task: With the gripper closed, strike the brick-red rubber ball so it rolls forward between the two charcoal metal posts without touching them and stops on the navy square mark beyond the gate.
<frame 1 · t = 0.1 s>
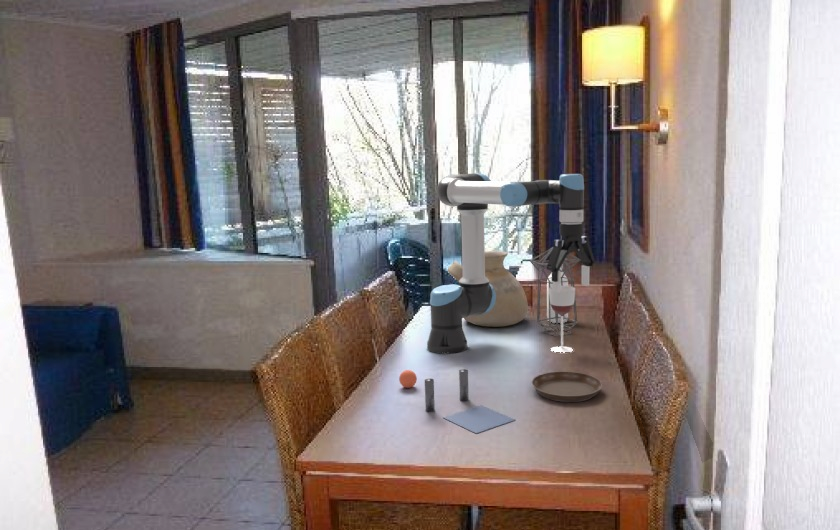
hand: (571, 288, 216), 28 cm above the table, tool pointing down, fingers open, 13 cm apart
alcohol: (557, 321, 287), on the table
post 2: (464, 399, 199), on the table
wineglass: (562, 350, 246), on the table
jug: (488, 322, 290), on the table
geometric lantern: (555, 333, 269), on the table
post 1: (430, 410, 191), on the table
plant saucer: (566, 393, 203), on the table
ball: (408, 378, 211), on the table
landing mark: (479, 419, 184), on the table
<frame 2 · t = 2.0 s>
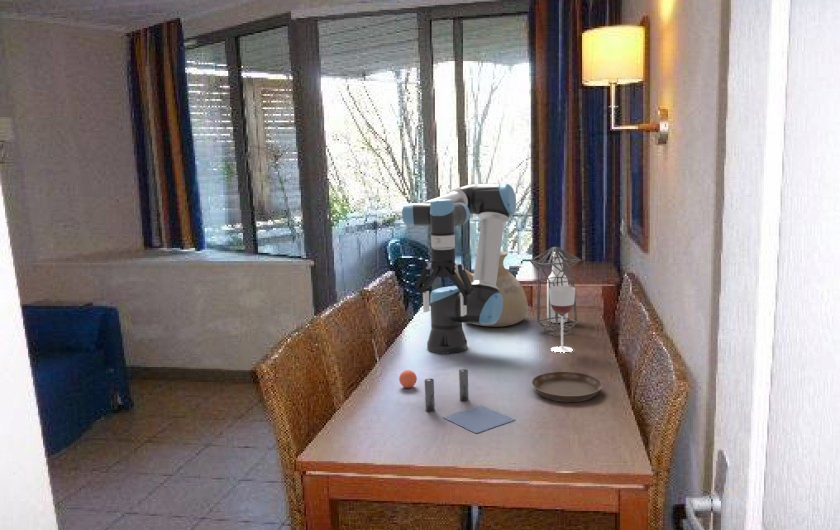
hand: (444, 313, 216), 21 cm above the table, tool pointing down, fingers open, 13 cm apart
nothing on the table moved.
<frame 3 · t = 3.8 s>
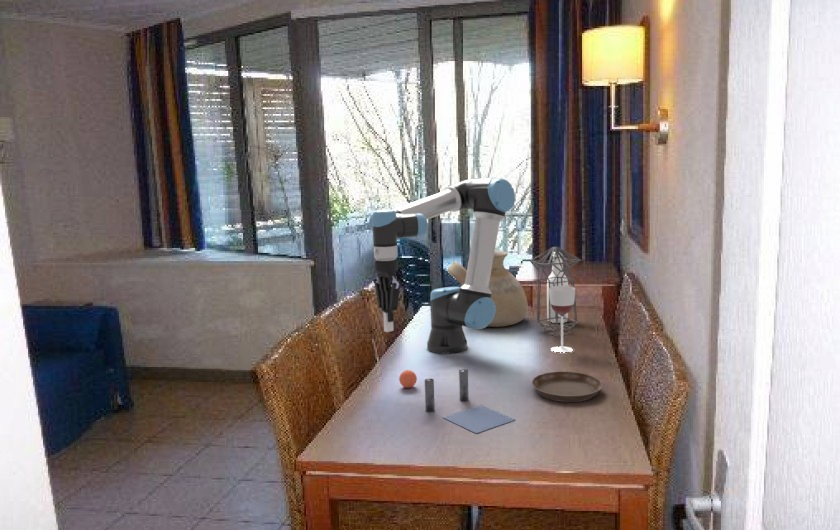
hand: (388, 330, 216), 16 cm above the table, tool pointing down, fingers closed
nothing on the table moved.
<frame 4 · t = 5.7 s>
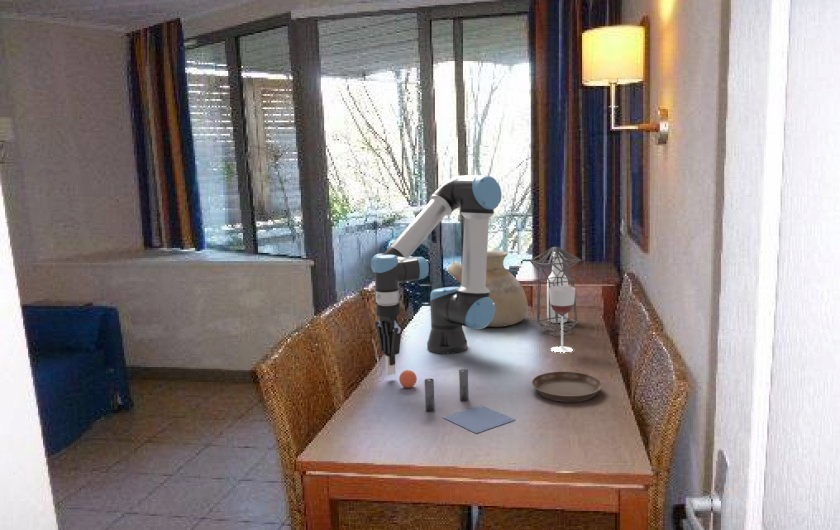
hand: (390, 373, 219), 2 cm above the table, tool pointing down, fingers closed
nothing on the table moved.
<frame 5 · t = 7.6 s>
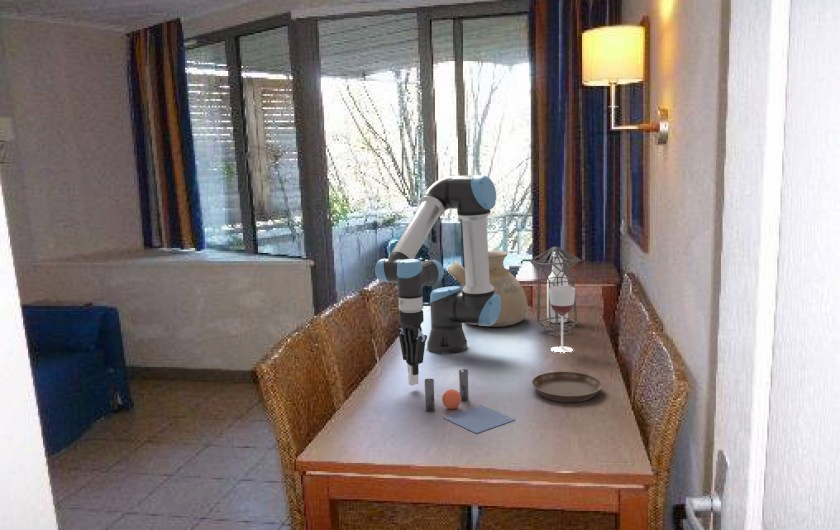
hand: (413, 383, 208), 2 cm above the table, tool pointing down, fingers closed
ball: (451, 399, 192), on the table
everything else where it was.
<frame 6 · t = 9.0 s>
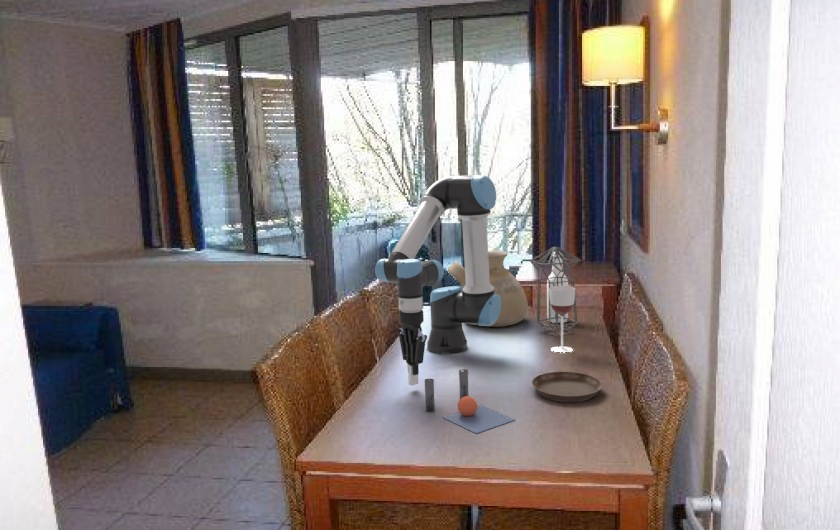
hand: (413, 383, 208), 2 cm above the table, tool pointing down, fingers closed
ball: (467, 406, 186), on the table
everything else where it was.
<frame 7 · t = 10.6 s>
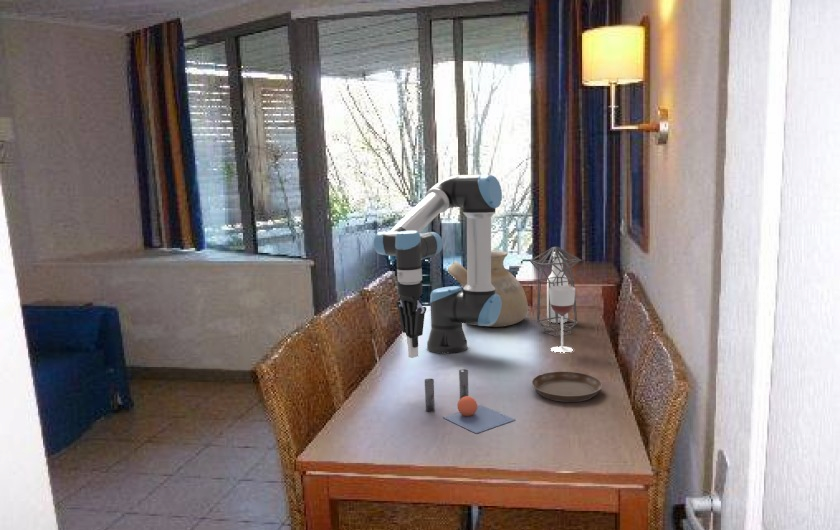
hand: (413, 356, 207), 11 cm above the table, tool pointing down, fingers closed
nothing on the table moved.
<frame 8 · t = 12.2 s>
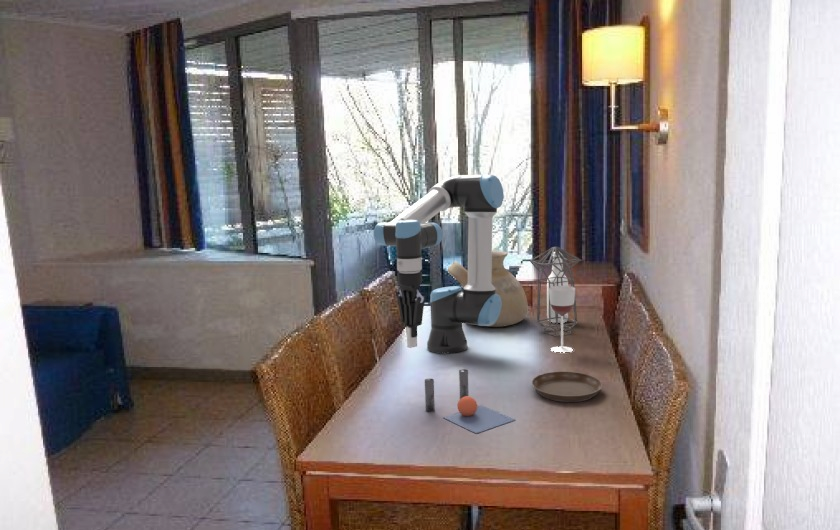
hand: (412, 346, 206), 14 cm above the table, tool pointing down, fingers closed
nothing on the table moved.
at the end: ball 4.1 cm from the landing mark (horizontally); ball never touched post 2; ball never touched post 1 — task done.
